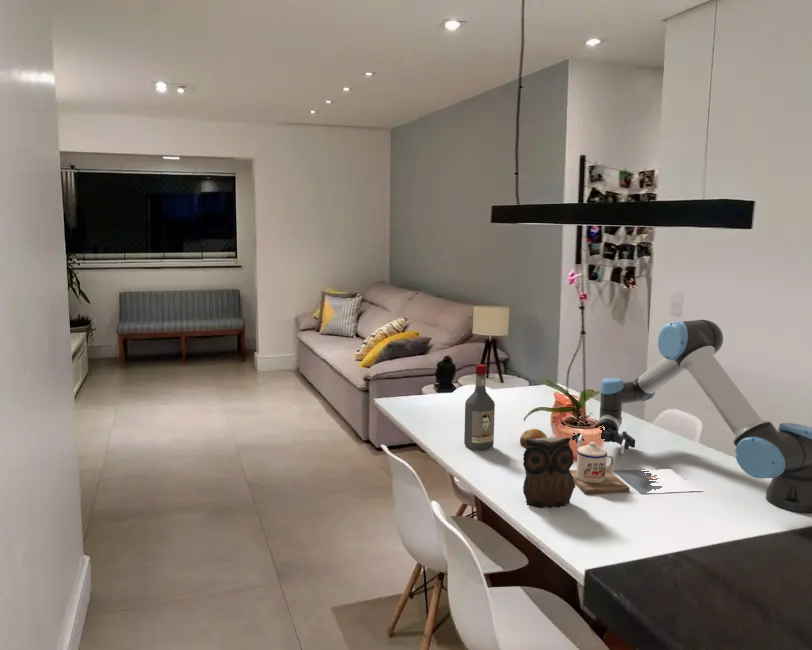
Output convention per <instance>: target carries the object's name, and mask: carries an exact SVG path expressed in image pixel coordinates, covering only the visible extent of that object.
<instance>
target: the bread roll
mask: <svg viewBox="0 0 812 650" xmlns="http://www.w3.org/2000/svg"><path fill="white" fill-rule="evenodd" d="M527 438H528V439H537V438H548V436H547V435H546V433H545V432H543V430H541V429H538V428H531V429H527V430H525V431H523V432H522V434H521V436H520V438H519V444H520V446H521V447H523V448H525V449H526V445H525V441H526V439H527Z"/></svg>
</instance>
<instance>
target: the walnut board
mask: <svg viewBox="0 0 812 650" xmlns="http://www.w3.org/2000/svg"><path fill="white" fill-rule="evenodd" d="M569 470H570V473H571V475H572V476H573V481H574V483H575V487H577V488H578V489H579V490H580V491H581V492H582V493H583V494H584V495H597V494H599V495H600V494H614V493H615V494H619V493H620V494H621V493H630V487H629V486H628V485H627V484H626V483H625V482H624V481H622V480H621V479H620V478H619V477H618V476H617V475H615V474H614V472H611V471H610V470H608V471H605V480H604V481H603V482H601V483H587V482H583V481H581V480H579V479H578V478H577V476H576V475H577V469H574V470H573V469H572V470H571V469H569Z"/></svg>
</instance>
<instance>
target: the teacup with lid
mask: <svg viewBox="0 0 812 650" xmlns="http://www.w3.org/2000/svg"><path fill="white" fill-rule="evenodd" d="M576 453H577V455H576V456H577V459H576V470H577V475H576V476H577V478H578V479H579V480H581V481H583V482H587V483H601V482H603V481H604V480H605V471H608V470H609V471H610V470H611V469H613V467H614V465H615V458H614V457H613V456H612V455H611V454H608V452H607V450H606V449H605V448H603V447H600V446H599V445H597V443H596V442H595V441H590V442H589V443H588V444H587V445H581V446H580V447H579V448H577V450H576ZM607 459H610V464H609V465H608V466H607V467H606V465H607Z"/></svg>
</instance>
